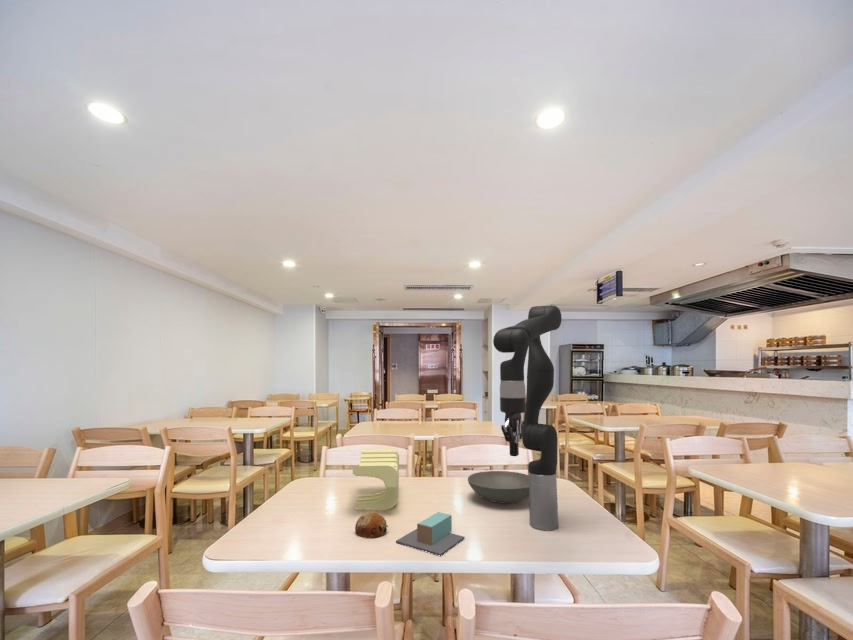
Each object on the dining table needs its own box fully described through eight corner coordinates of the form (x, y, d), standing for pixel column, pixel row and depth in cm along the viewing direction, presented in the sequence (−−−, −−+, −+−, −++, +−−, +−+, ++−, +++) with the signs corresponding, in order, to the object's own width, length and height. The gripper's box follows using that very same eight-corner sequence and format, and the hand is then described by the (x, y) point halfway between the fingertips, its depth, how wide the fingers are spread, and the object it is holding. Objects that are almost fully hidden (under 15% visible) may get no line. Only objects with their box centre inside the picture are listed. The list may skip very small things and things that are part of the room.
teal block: (438, 512, 134) (417, 523, 124) (451, 515, 131) (431, 527, 121) (438, 527, 133) (417, 541, 124) (451, 531, 131) (431, 545, 121)
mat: (422, 527, 135) (422, 525, 135) (464, 538, 126) (464, 536, 127) (396, 542, 124) (396, 540, 124) (440, 556, 115) (440, 554, 115)
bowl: (547, 512, 149) (547, 488, 150) (471, 512, 150) (470, 488, 151) (530, 489, 176) (529, 469, 177) (465, 489, 177) (465, 469, 178)
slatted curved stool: (397, 517, 145) (397, 465, 147) (352, 518, 144) (352, 466, 146) (399, 491, 174) (399, 448, 176) (361, 492, 174) (362, 449, 176)
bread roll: (376, 536, 137) (369, 511, 140) (396, 529, 132) (388, 504, 135) (353, 546, 130) (346, 520, 133) (373, 539, 124) (366, 512, 127)
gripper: (516, 397, 114) (518, 461, 112) (532, 395, 125) (534, 453, 123) (491, 396, 119) (492, 458, 117) (509, 394, 129) (511, 450, 128)
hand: (514, 455), depth 120 cm, fingers closed
